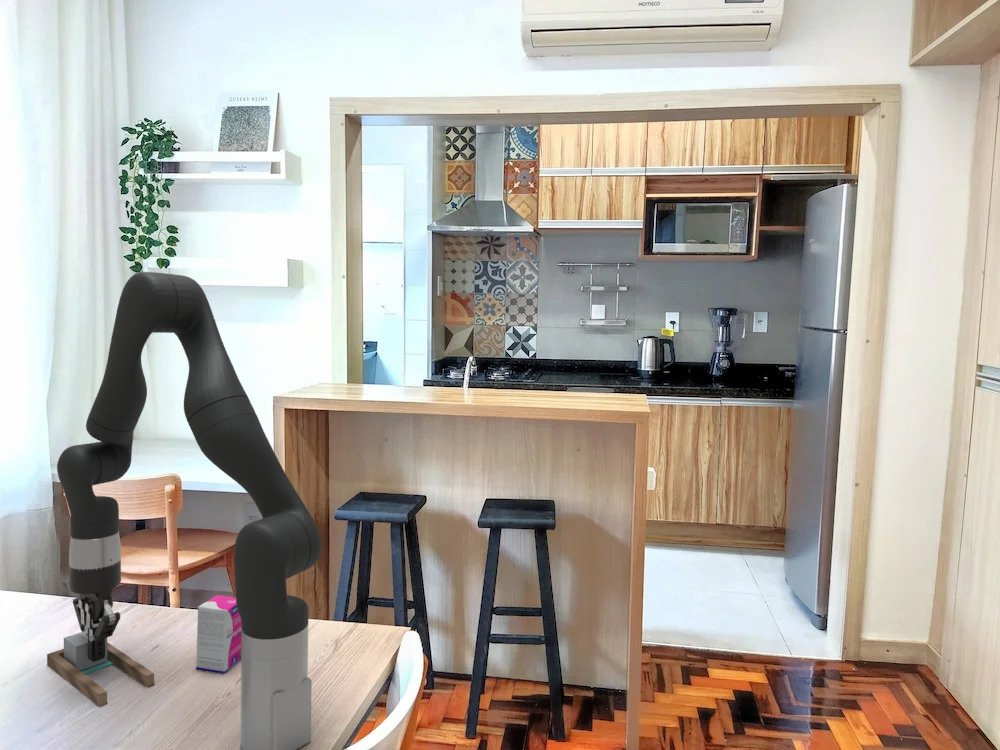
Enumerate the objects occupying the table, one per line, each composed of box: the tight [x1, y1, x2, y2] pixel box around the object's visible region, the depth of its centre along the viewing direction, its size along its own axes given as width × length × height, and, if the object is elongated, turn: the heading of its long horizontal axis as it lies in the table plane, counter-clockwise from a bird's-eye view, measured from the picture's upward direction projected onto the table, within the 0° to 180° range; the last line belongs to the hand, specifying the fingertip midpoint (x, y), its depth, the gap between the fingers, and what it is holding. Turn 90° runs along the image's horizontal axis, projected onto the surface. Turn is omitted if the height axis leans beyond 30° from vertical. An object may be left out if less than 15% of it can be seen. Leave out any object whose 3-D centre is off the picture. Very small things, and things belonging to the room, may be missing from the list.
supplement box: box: [195, 594, 242, 675], centre depth 121 cm, size 6×6×12 cm
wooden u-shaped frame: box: [46, 641, 155, 708], centre depth 116 cm, size 20×9×2 cm, turn 53°
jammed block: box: [63, 631, 108, 671], centre depth 119 cm, size 5×5×4 cm
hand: (96, 658), depth 117 cm, fingers closed
